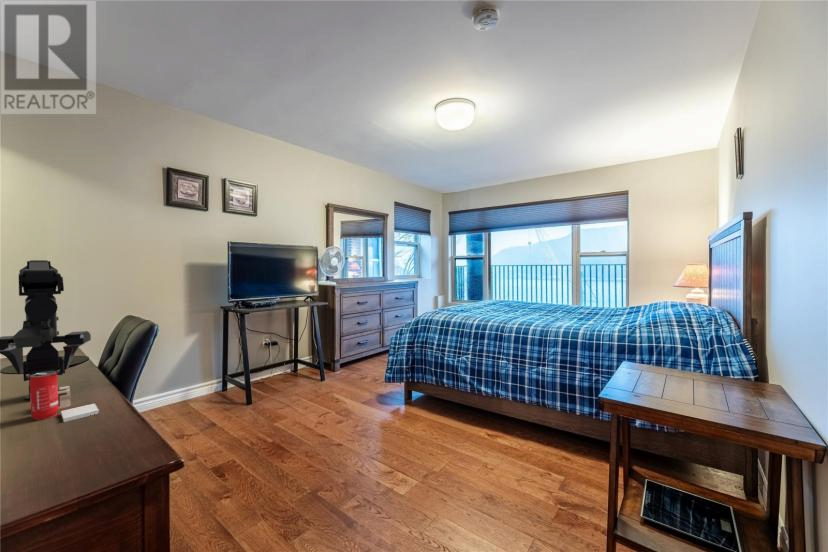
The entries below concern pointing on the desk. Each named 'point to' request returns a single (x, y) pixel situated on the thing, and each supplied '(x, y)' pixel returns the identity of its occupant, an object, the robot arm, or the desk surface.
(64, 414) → the white mat
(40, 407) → the beverage can
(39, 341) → the robot arm
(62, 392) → the letter block
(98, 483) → the desk surface
